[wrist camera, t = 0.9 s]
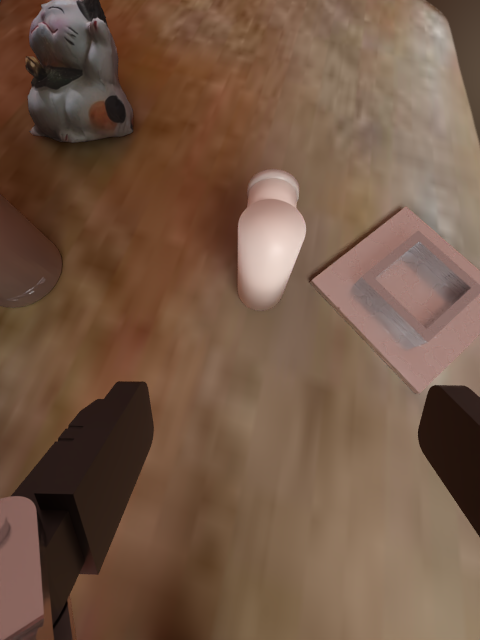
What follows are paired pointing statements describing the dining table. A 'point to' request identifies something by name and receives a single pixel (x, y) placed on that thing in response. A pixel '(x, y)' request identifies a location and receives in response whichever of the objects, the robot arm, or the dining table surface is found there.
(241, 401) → the dining table surface
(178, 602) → the dining table surface
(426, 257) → the plate
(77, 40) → the lucky cat figurine
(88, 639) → the dining table surface
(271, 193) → the elbow
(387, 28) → the dining table surface
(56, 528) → the robot arm
